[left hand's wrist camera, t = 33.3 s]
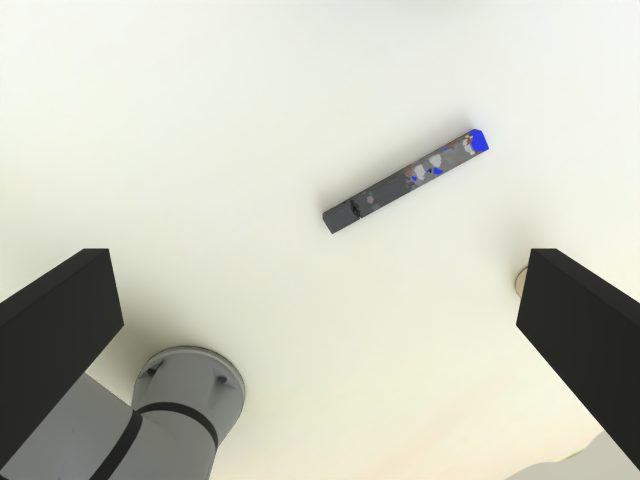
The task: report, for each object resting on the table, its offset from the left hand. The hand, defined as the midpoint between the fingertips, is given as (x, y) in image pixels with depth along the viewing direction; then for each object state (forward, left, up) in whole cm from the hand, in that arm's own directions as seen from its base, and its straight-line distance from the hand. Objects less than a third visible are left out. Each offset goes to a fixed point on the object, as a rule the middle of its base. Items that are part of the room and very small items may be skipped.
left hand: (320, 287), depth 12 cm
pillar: (-2, -10, -35) cm, 36 cm away
